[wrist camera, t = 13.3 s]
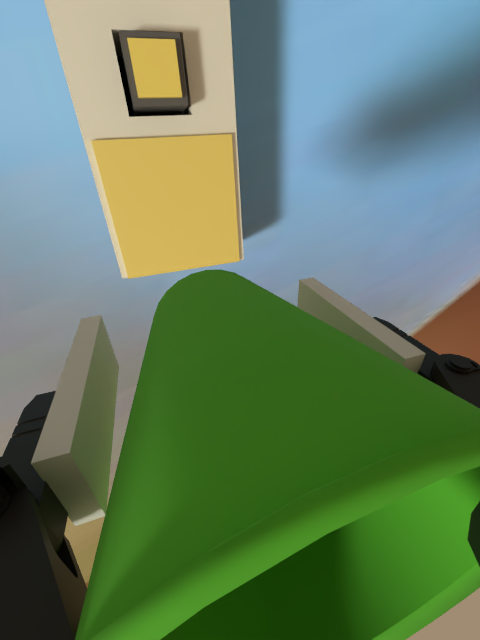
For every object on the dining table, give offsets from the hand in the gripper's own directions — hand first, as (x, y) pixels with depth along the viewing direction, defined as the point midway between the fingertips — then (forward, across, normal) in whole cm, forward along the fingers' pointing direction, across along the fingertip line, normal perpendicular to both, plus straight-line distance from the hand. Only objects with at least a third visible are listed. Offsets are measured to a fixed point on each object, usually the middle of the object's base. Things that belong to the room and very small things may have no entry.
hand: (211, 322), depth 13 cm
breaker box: (+19, 0, +11) cm, 22 cm away
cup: (+1, 0, 0) cm, 1 cm away
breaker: (+19, 0, +11) cm, 22 cm away
